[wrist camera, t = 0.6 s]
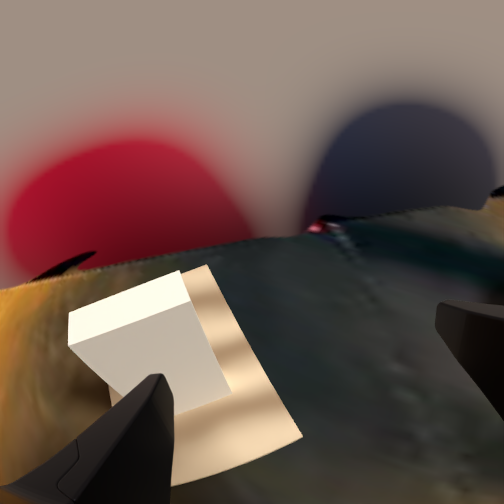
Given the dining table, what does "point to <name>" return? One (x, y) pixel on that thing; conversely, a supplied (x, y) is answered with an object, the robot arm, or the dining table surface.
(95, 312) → the card box
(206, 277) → the mat
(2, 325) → the dining table surface
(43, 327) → the dining table surface
